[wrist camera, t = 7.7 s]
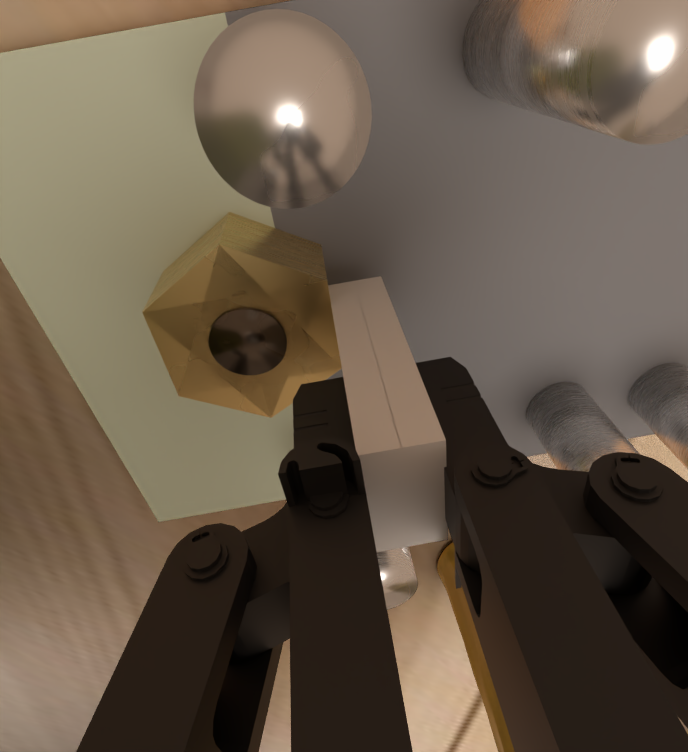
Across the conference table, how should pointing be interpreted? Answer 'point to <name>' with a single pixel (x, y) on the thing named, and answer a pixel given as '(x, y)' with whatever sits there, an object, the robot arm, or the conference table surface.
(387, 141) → the plate
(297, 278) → the nut
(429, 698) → the conference table surface
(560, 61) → the set of metal pegs
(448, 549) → the vase
